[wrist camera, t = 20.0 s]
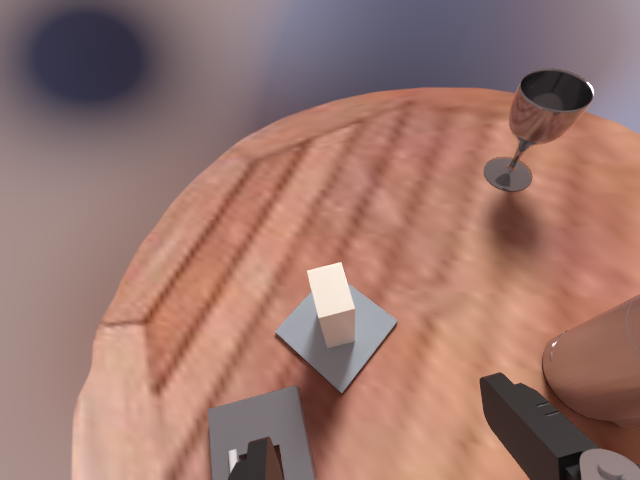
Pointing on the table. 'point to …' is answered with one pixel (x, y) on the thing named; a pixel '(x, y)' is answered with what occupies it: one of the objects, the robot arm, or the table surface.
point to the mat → (343, 359)
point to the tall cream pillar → (333, 304)
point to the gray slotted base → (262, 433)
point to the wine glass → (539, 120)
